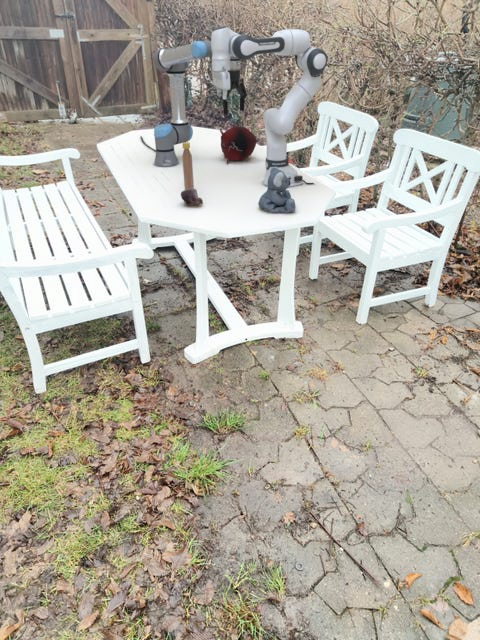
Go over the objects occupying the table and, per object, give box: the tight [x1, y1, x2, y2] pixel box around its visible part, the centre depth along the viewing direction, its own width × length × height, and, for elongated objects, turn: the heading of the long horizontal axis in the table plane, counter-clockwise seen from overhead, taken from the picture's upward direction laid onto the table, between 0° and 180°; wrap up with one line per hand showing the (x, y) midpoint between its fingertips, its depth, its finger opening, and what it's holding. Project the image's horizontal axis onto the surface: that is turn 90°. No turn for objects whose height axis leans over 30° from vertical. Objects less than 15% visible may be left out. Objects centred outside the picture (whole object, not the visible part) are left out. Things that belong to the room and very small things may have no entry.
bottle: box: [181, 148, 195, 191], centre depth 240 cm, size 5×5×26 cm
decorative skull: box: [219, 125, 257, 164], centre depth 297 cm, size 21×24×25 cm
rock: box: [180, 188, 204, 207], centre depth 229 cm, size 12×9×10 cm
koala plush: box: [257, 167, 297, 214], centre depth 221 cm, size 17×18×20 cm
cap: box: [181, 141, 191, 150], centre depth 233 cm, size 4×4×2 cm
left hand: (234, 112), depth 255 cm, fingers open, 13 cm apart
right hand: (222, 97), depth 225 cm, fingers open, 8 cm apart
